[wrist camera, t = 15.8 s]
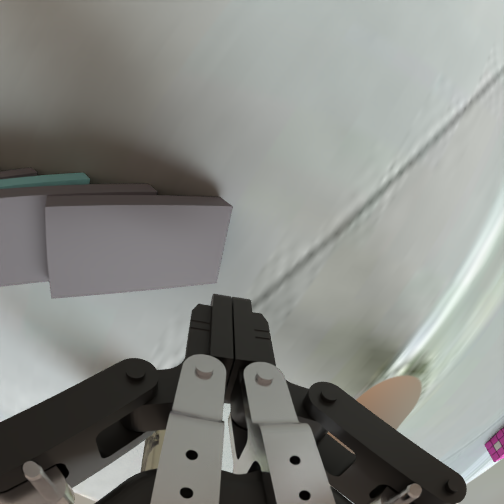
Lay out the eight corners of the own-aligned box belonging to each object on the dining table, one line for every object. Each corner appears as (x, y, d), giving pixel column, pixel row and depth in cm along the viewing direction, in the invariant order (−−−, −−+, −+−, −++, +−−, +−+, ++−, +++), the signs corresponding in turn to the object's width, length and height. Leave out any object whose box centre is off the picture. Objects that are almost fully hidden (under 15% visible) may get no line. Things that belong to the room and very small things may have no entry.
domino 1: (80, 244, 19) (-52, 266, 12) (83, 172, 17) (-63, 188, 10) (87, 255, 18) (-54, 280, 11) (89, 178, 16) (-67, 197, 9)
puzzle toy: (500, 428, 43) (511, 446, 37) (511, 425, 44) (521, 442, 39) (484, 444, 45) (493, 462, 40) (495, 441, 46) (504, 457, 41)
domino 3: (205, 270, 21) (50, 282, 15) (219, 197, 19) (46, 196, 13) (216, 283, 20) (51, 298, 14) (232, 206, 18) (45, 206, 12)
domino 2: (140, 257, 20) (-7, 272, 14) (148, 183, 18) (-15, 190, 12) (148, 269, 19) (-8, 287, 13) (157, 191, 17) (-20, 199, 11)
